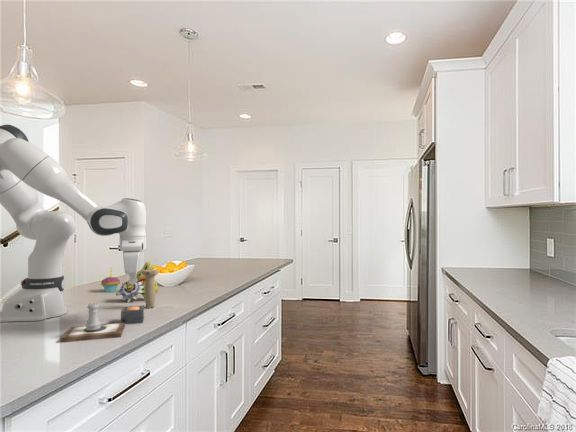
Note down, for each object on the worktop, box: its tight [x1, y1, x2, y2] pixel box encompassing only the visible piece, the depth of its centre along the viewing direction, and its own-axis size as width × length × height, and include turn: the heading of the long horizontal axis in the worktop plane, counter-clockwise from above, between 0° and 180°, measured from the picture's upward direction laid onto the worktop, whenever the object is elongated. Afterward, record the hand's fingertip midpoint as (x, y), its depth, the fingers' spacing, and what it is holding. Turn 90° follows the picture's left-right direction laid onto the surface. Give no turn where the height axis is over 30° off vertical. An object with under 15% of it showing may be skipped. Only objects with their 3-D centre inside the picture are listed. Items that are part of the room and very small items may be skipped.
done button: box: [126, 305, 139, 310], centre depth 132 cm, size 4×4×3 cm
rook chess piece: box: [84, 302, 102, 331], centre depth 117 cm, size 4×4×8 cm
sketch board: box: [60, 322, 126, 343], centre depth 118 cm, size 16×12×2 cm
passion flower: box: [115, 279, 145, 304], centre depth 167 cm, size 11×11×12 cm
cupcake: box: [100, 266, 121, 293], centre depth 188 cm, size 9×8×12 cm
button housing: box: [120, 305, 145, 325], centre depth 132 cm, size 7×7×4 cm
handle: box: [142, 269, 159, 309], centre depth 153 cm, size 5×6×15 cm
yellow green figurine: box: [136, 261, 159, 293], centre depth 184 cm, size 7×11×15 cm, turn 86°
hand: (133, 283), depth 133 cm, fingers closed
